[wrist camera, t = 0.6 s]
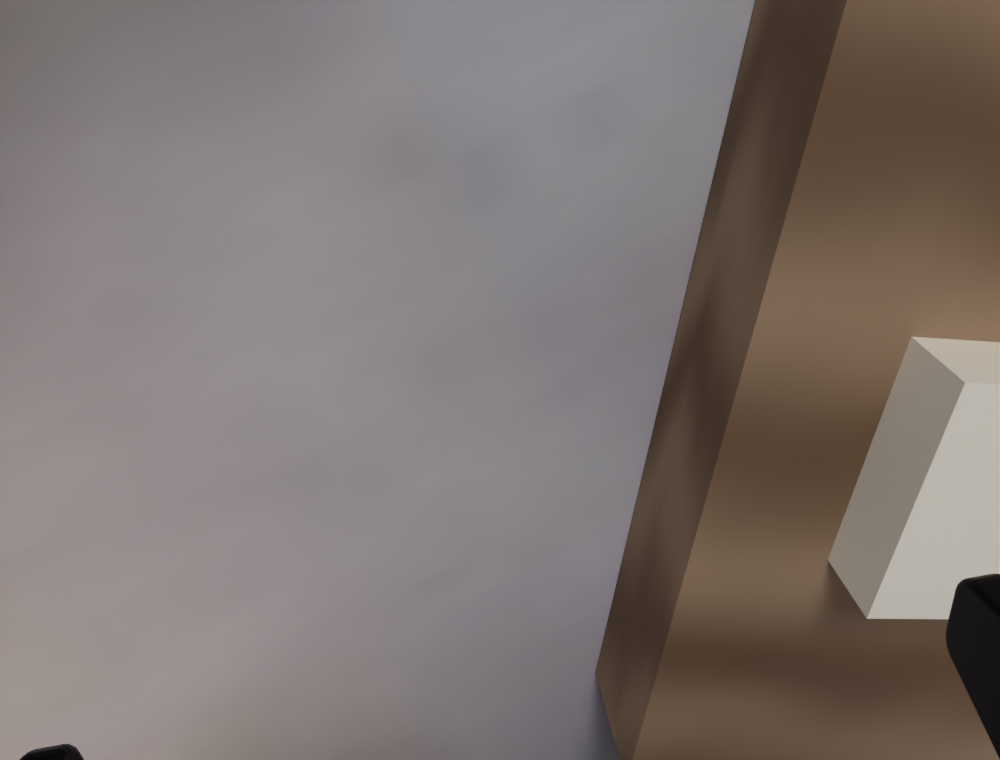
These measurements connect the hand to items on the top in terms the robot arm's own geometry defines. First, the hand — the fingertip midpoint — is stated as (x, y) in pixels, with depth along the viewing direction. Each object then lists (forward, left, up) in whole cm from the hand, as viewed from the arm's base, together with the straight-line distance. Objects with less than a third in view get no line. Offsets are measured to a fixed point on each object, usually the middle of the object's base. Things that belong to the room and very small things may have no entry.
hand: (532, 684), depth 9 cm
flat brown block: (-3, -13, -14) cm, 19 cm away
